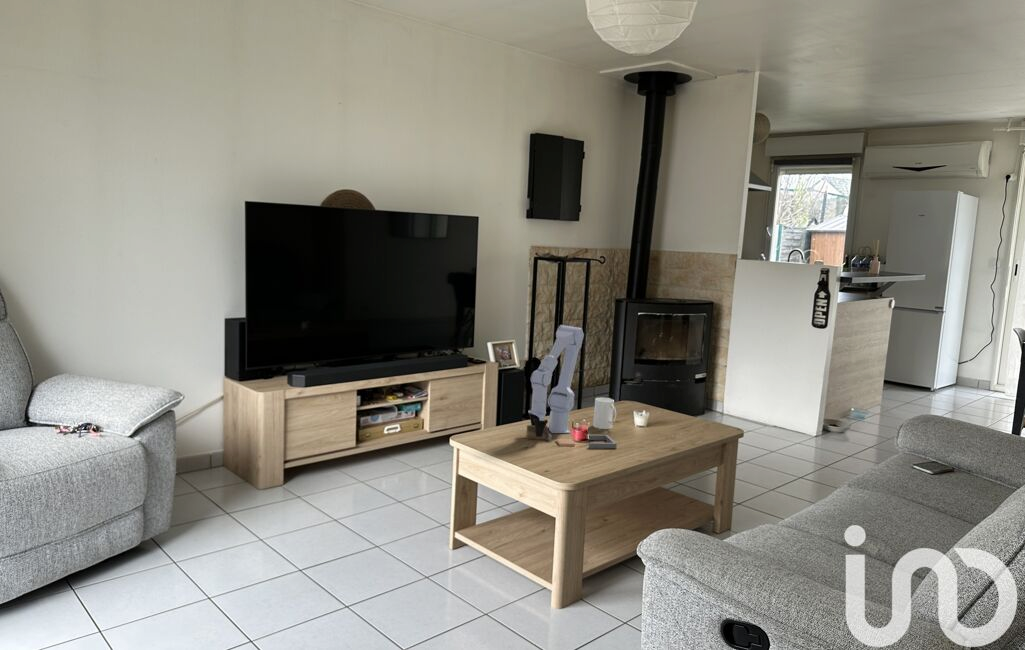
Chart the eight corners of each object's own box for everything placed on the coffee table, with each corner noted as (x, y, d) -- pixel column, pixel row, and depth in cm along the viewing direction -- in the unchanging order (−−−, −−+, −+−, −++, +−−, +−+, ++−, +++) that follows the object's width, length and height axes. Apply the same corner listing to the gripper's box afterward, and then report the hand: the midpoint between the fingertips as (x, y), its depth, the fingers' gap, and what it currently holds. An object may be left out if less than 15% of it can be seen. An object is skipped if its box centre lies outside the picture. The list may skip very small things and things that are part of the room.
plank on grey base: (524, 435, 289) (525, 423, 288) (546, 435, 290) (547, 423, 290) (528, 441, 281) (529, 428, 280) (551, 441, 282) (552, 429, 282)
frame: (580, 439, 288) (581, 434, 288) (606, 439, 290) (607, 434, 290) (589, 448, 276) (589, 443, 276) (616, 448, 278) (616, 443, 278)
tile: (555, 442, 283) (556, 438, 283) (570, 442, 284) (570, 439, 284) (559, 447, 277) (559, 443, 277) (574, 447, 278) (574, 443, 278)
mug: (621, 430, 306) (623, 403, 304) (605, 432, 301) (607, 404, 300) (604, 423, 316) (606, 396, 314) (588, 424, 311) (590, 397, 310)
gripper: (525, 395, 290) (523, 428, 291) (533, 404, 276) (530, 438, 277) (542, 396, 291) (540, 428, 293) (551, 405, 277) (548, 439, 279)
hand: (536, 433), depth 285 cm, fingers open, 7 cm apart
